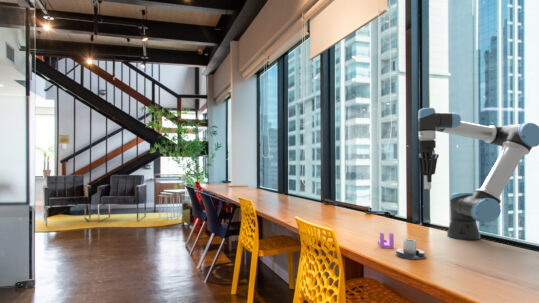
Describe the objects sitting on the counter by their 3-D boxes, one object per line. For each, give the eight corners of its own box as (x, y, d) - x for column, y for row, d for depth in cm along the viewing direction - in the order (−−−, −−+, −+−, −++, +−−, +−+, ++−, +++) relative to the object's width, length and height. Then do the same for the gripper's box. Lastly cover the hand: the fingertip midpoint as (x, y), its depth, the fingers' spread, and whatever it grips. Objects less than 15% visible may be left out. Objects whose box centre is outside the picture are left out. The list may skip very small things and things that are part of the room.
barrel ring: (413, 251, 155) (413, 247, 155) (430, 258, 144) (430, 253, 144) (390, 253, 152) (390, 248, 152) (406, 260, 141) (406, 255, 141)
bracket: (393, 248, 160) (393, 233, 161) (381, 248, 161) (380, 233, 162) (389, 242, 173) (389, 228, 173) (377, 241, 174) (377, 227, 174)
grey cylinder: (411, 252, 151) (410, 238, 151) (418, 255, 146) (418, 240, 146) (401, 253, 150) (400, 238, 150) (408, 256, 145) (408, 241, 145)
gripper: (411, 140, 176) (412, 188, 175) (429, 139, 163) (430, 190, 162) (424, 140, 177) (425, 187, 177) (443, 139, 165) (444, 189, 164)
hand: (427, 188), depth 170 cm, fingers closed
